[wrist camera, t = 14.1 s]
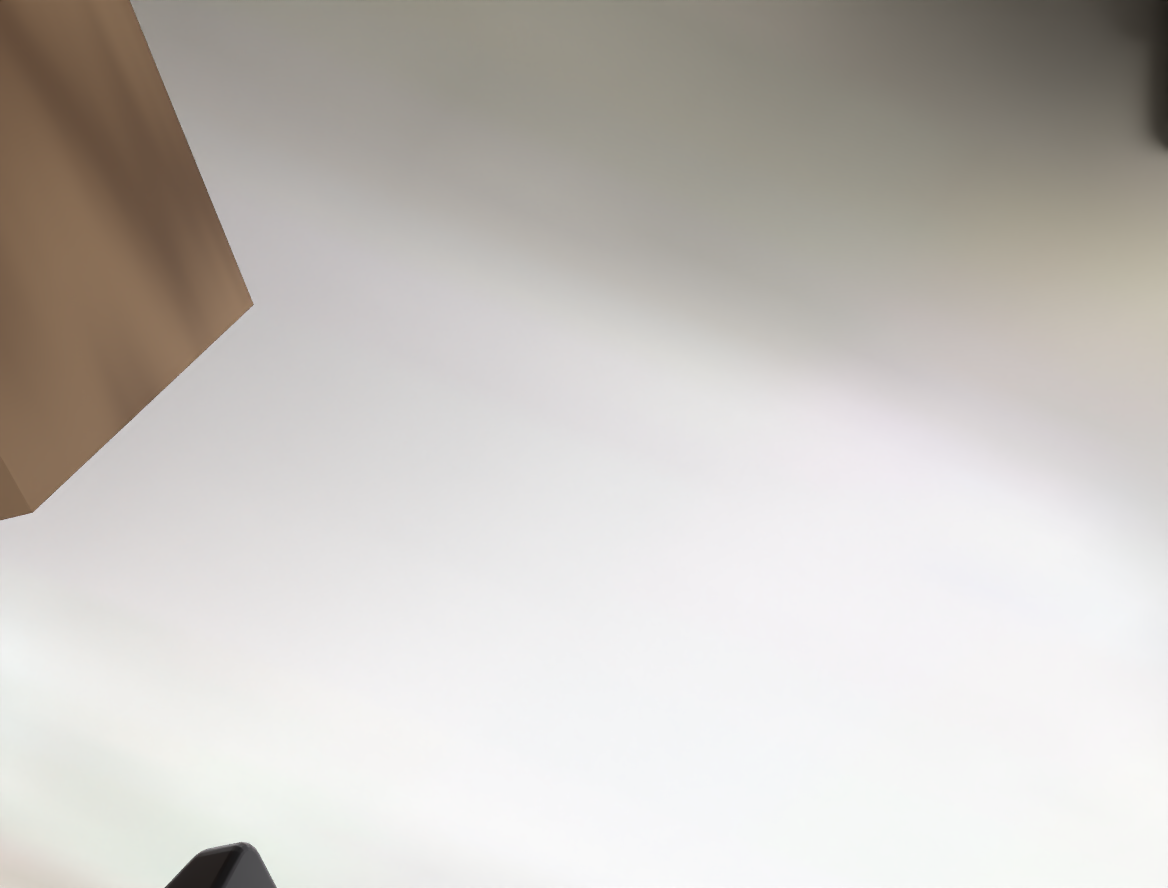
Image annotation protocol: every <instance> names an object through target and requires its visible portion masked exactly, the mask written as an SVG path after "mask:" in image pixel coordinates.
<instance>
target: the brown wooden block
mask: <svg viewBox="0 0 1168 888" xmlns="http://www.w3.org/2000/svg"><path fill="white" fill-rule="evenodd" d="M253 305H254V304H253V302H252V300H251V297H250V295H249V292H248V290H247V287H246V285H245V282H244V280H243V277H242V275H241V273H240V270H239V268H238V265H237V263H236V260H235V258H234V255H233V253H232V250H231V248H230V246H229V243H228V241H227V238H226V236H225V233H224V231H223V228H222V226H221V223H220V221H219V219H218V216H217V214H216V211H215V209H214V206H213V204H212V201H211V199H210V196H209V194H208V192H207V189H206V187H205V184H204V182H203V179H202V177H201V174H200V172H199V170H198V167H197V165H196V162H195V160H194V157H193V155H192V152H191V150H190V147H189V145H188V143H187V140H186V138H185V135H184V133H183V130H182V128H181V125H180V123H179V120H178V118H177V116H176V113H175V111H174V108H173V106H172V103H171V101H170V98H169V96H168V93H167V91H166V89H165V86H164V84H163V81H162V79H161V76H160V74H159V71H158V69H157V66H156V64H155V62H154V59H153V57H152V54H151V52H150V49H149V47H148V44H147V42H146V39H145V37H144V35H143V32H142V30H141V27H140V25H139V22H138V20H137V17H136V15H135V13H134V10H133V8H132V5H131V3H130V0H0V520H4V519H8V518H12V517H16V516H20V515H25V514H29V513H33V512H34V511H35V510H36V509H37V508H38V507H39V506H40V505H41V504H42V503H43V502H44V501H45V500H46V499H48V498H49V497H50V496H51V495H52V494H53V493H54V492H55V491H56V490H57V489H58V488H59V487H60V486H61V485H62V484H63V483H65V482H66V481H67V480H68V479H69V478H70V477H71V476H72V475H73V474H74V473H75V472H76V471H77V470H78V469H79V468H80V467H82V466H83V465H84V464H85V463H86V462H87V461H88V460H89V459H90V458H91V457H92V456H93V455H94V454H95V453H96V452H98V451H99V450H100V449H101V448H102V447H103V446H104V445H105V444H106V443H107V442H108V441H109V440H110V439H111V438H112V437H113V436H115V435H116V434H117V433H118V432H119V431H120V430H121V429H122V428H123V427H124V426H125V425H126V424H127V423H128V422H129V421H130V420H132V419H133V418H134V417H135V416H136V415H137V414H138V413H139V412H140V411H141V410H142V409H143V408H144V407H145V406H146V405H147V404H149V403H150V402H151V401H152V400H153V399H154V398H155V397H156V396H157V395H158V394H159V393H160V392H161V391H162V390H163V389H165V388H166V387H167V386H168V385H169V384H170V383H171V382H172V381H173V380H174V379H175V378H176V377H177V376H178V375H179V374H180V373H182V372H183V371H184V370H185V369H186V368H187V367H188V366H189V365H190V364H191V363H192V362H193V361H194V360H195V359H196V358H197V357H199V356H200V355H201V354H202V353H203V352H204V351H205V350H206V349H207V348H208V347H209V346H210V345H211V344H212V343H213V342H214V341H216V340H217V339H218V338H219V337H220V336H221V335H222V334H223V333H224V332H225V331H226V330H227V329H228V328H229V327H230V326H231V325H233V324H234V323H235V322H236V321H237V320H238V319H239V318H240V317H241V316H242V315H243V314H244V313H245V312H246V311H247V310H249V309H250V308H251V307H252V306H253Z"/></svg>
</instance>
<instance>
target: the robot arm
mask: <svg viewBox="0 0 1168 888" xmlns="http://www.w3.org/2000/svg"><path fill="white" fill-rule="evenodd" d="M165 888H277V887H276V885H275V884H274V882H273V880H272V878H271V876H270V874H269V872H268V870H267V868H266V866H265V864H264V862H263V861H262V859H261V857H260V855H259V853H258V852H257V850H256V849H255V847H253V846H252V845H251V844H249V843H243V842H239V843H234V844H229V845H224V846H219V847H214V848H209V849H206V850H204V851H201V852H200V853H198V854H197V855H196V856H195V857H194V858H193V859H191V861H190V862H189V863H188V864H187V865H186V866H185V867H184V868H183V869H182V870H181V871H180V872H179V873H178V874H177V875H176V876H175V877H174V878H173V879H172V881H171V882H170V883H169V884H168V885H167V886H166V887H165Z"/></svg>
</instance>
